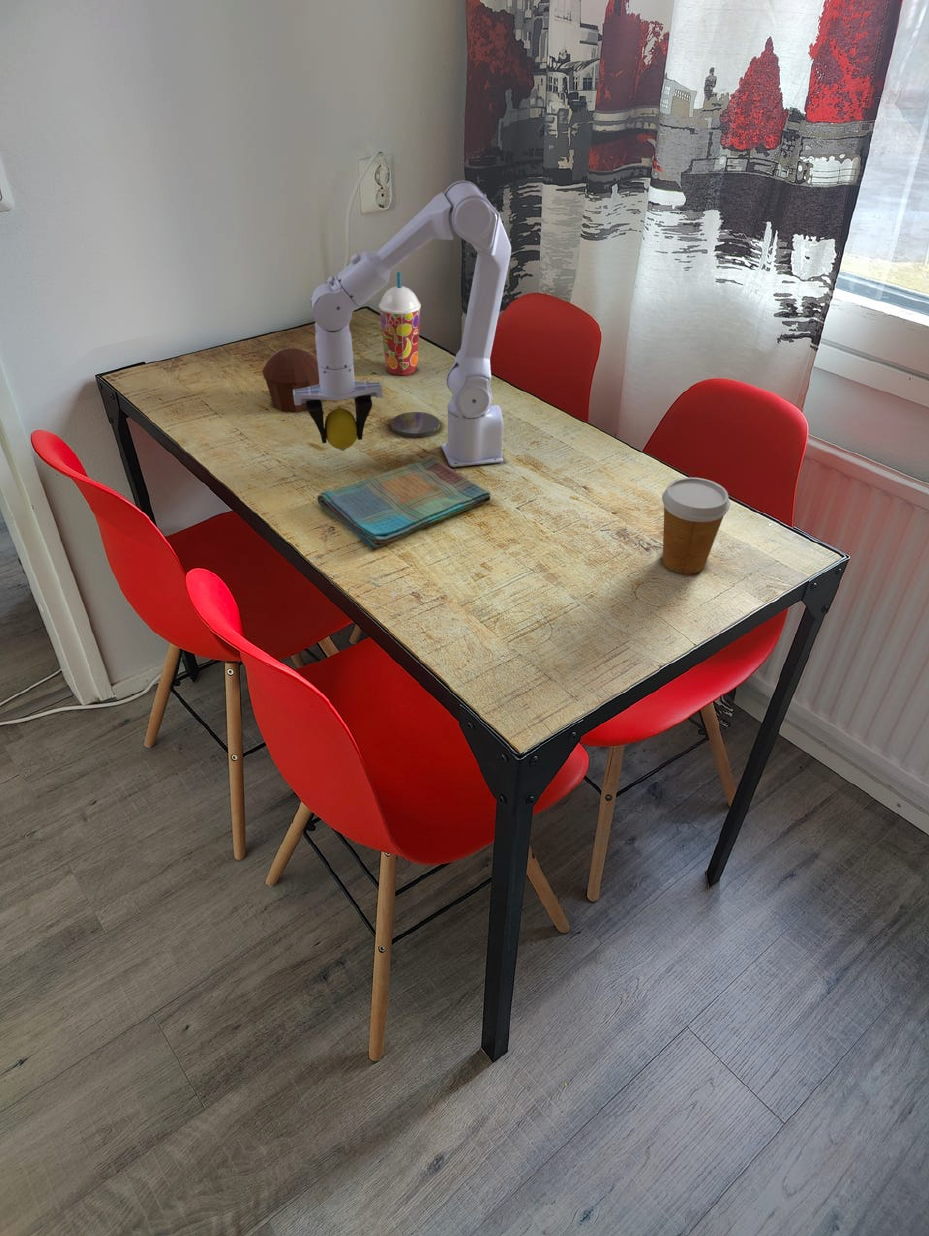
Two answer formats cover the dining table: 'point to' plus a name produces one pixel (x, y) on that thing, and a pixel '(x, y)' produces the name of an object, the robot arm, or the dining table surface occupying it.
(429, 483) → the dish towel
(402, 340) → the smoothie
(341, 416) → the lemon
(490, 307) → the robot arm
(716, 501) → the disposable coffee cup
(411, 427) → the slate coaster
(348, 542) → the dining table surface
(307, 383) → the muffin
